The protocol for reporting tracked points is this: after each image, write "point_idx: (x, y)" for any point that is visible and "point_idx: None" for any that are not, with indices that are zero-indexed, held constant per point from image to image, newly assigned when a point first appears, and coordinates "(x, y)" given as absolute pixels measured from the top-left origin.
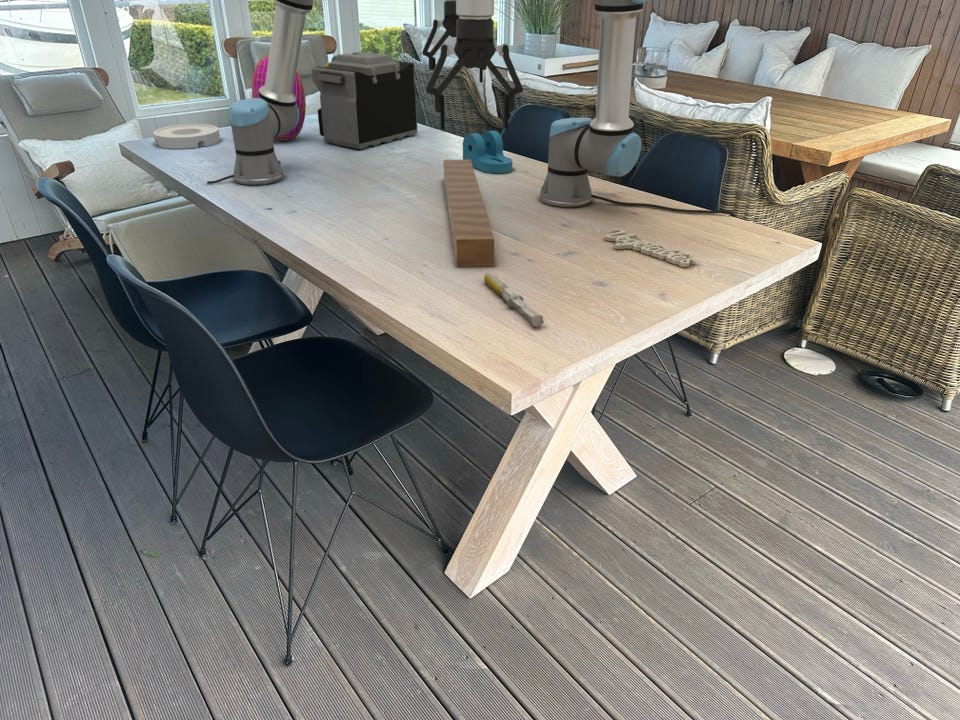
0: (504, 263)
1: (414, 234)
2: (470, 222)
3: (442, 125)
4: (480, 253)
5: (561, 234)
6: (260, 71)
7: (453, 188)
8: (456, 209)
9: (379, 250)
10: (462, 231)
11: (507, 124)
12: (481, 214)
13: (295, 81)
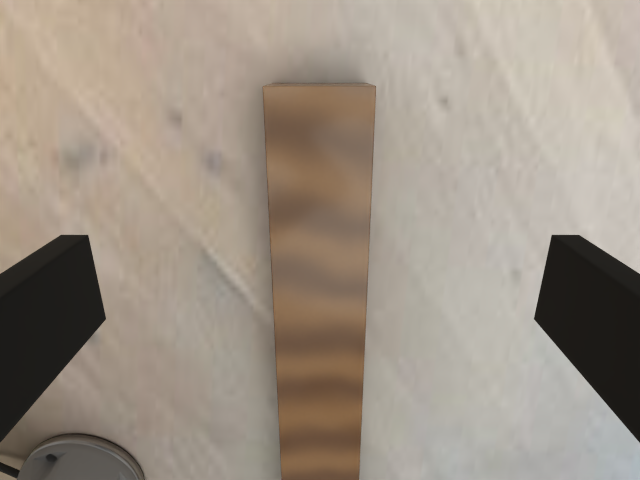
0: (242, 103)
1: (446, 300)
2: (322, 226)
3: (584, 245)
4: (304, 84)
5: None
6: None
7: (346, 468)
8: (352, 326)
9: (542, 206)
10: (351, 155)
11: (48, 245)
12: (287, 287)
13: None
